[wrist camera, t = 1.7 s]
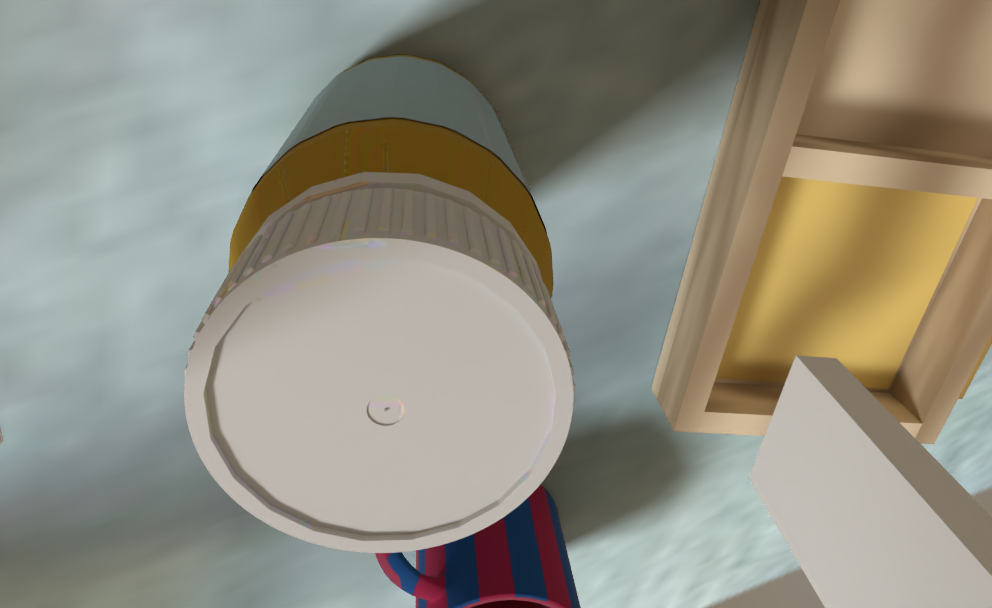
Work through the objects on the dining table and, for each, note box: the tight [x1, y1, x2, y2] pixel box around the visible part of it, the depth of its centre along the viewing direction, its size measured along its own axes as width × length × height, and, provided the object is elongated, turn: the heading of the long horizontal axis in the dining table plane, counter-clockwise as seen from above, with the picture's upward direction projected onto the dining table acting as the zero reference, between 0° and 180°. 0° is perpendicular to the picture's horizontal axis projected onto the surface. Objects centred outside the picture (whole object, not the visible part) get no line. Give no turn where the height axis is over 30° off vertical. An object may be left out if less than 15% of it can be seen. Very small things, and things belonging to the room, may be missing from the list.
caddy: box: [651, 0, 992, 444], centre depth 24 cm, size 12×22×3 cm, turn 172°
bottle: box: [184, 55, 575, 553], centre depth 17 cm, size 7×7×15 cm
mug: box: [375, 485, 580, 608], centre depth 29 cm, size 7×10×7 cm
